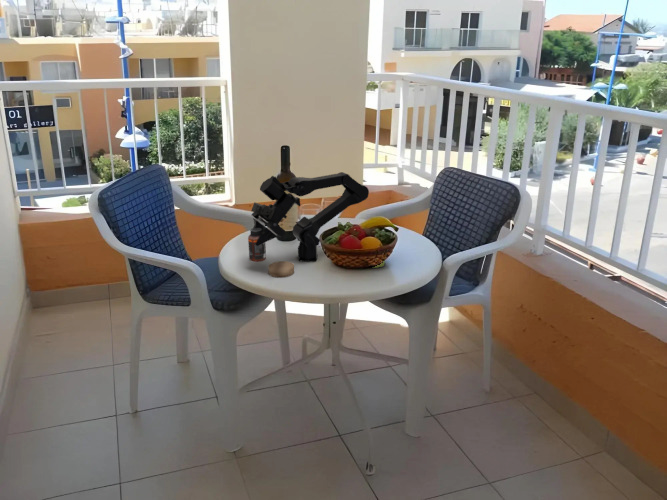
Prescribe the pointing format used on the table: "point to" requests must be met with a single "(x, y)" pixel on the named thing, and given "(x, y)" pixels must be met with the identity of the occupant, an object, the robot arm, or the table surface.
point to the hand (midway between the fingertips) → (253, 242)
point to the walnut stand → (281, 269)
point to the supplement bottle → (256, 251)
